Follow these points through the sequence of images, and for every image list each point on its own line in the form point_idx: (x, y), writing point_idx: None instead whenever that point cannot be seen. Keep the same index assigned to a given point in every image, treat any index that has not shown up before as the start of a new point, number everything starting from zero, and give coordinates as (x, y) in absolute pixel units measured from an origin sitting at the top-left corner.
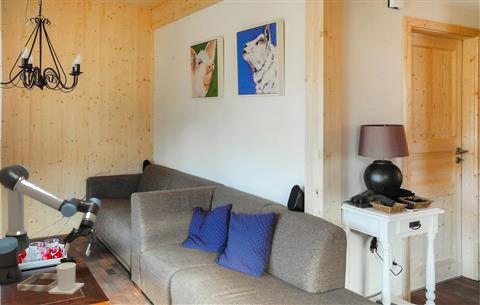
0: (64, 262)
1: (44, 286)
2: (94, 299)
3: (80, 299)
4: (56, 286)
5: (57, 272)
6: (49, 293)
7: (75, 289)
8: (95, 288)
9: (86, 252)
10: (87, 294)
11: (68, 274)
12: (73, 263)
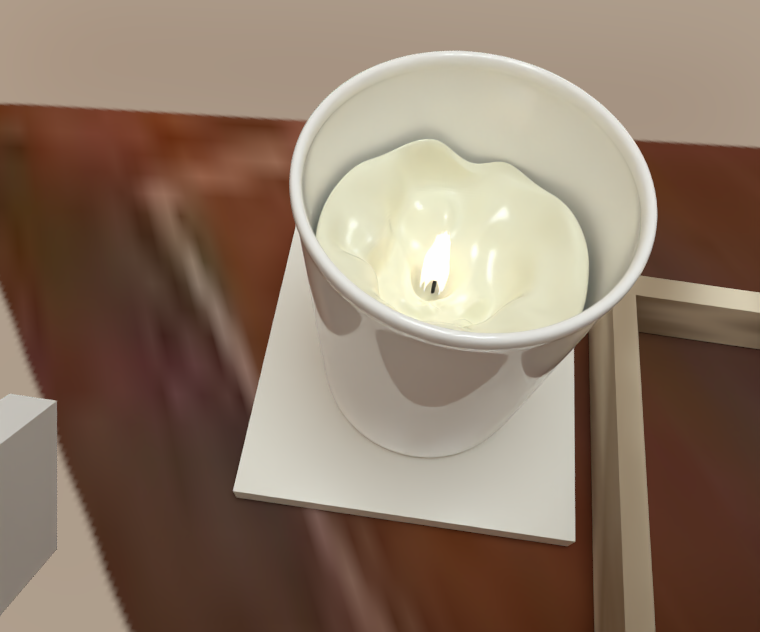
0: None
1: (667, 283)
2: (40, 122)
3: (180, 130)
4: (566, 392)
5: (553, 151)
6: None
7: (287, 292)
8: (59, 375)
9: (7, 427)
10: (131, 225)
11: (369, 152)
12: (379, 302)
